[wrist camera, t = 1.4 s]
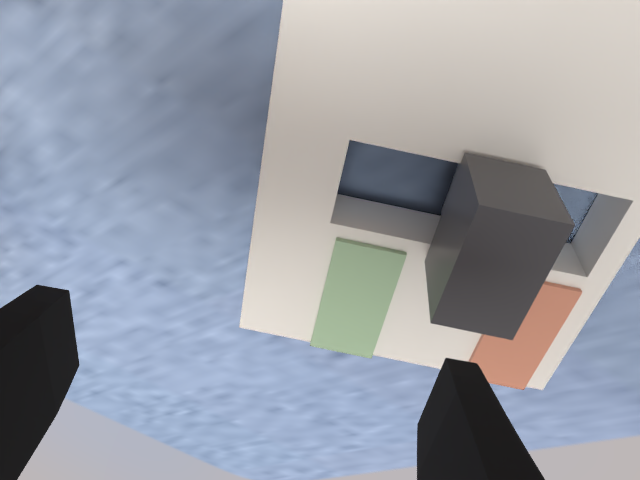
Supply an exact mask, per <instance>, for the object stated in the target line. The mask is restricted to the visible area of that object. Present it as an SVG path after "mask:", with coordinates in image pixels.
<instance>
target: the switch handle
mask: <svg viewBox="0 0 640 480" xmlns="http://www.w3.org/2000/svg"><path fill="white" fill-rule="evenodd" d="M441 212H442V215H441V218H440V221H439V223H438V226H437V229H436V231H435V234H434V237H433V240H432V242H431V245H430V248H429V250H428V253H427V256H426V258H425V271H426V281H427V292H428V302H429V313H430V323H432V324H436V325H441V326H446V327H451V328H456V329H460V330H465V331H470V332H475V333H480V334H484V335H489V336H494V337H499V338H504V339H508V340H513V339H514V337H515V335H516V333H517V331H518V330H519V328H520V326H521V324H522V322H523V320H524V319H525V317H526V315H527V313H528V311H529V309H530V307H531V306H532V304H533V302H534V300H535V298H536V296H537V295H538V293H539V291H540V289H541V287H542V285H543V284H544V282H545V280H546V278H547V276H548V274H549V272H550V271H551V269H552V267H553V265H554V263H555V261H556V260H557V258H558V256H559V254H560V252H561V250H562V249H563V247H564V245H565V243H566V241H567V239H568V237H569V236H570V234H571V232H572V230H573V228H574V226H575V224H574V222H573V220H572V218H571V217H570V215H569V213H568V211H567V209H566V207H565V205H564V203H563V201H562V200H561V198H560V196H559V194H558V192H557V190H556V188H555V186H554V185H553V183H552V181H551V179H550V177H549V175H548V173H547V171H546V170H545V169H540V168H535V167H531V166H526V165H521V164H517V163H512V162H507V161H503V160H498V159H493V158H489V157H484V156H479V155H475V154H470V153H464V155H463V158H462V161H461V164H460V163H458V166H457V168H456V171H455V174H454V177H453V179H452V182H451V185H450V188H449V190H448V193H447V196H446V199H445V201H444V204H443V207H442V209H441Z"/></svg>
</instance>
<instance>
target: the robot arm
mask: <svg viewBox="0 0 640 480" xmlns="http://www.w3.org/2000/svg"><path fill="white" fill-rule="evenodd" d="M78 367H79V359H78V352H77V345H76V338H75V330H74V323H73V316H72V308H71V301H70V294H69V290H63V289H58V288H52V287H47V286H41V285H36V286H34V287H33V288H31V289H29V290H28V291H26V292H25V293H23V294H22V295H20V296H19V297H17V298H16V299H14V300H13V301H11V302H10V303H8V304H6V305H5V306H3V307H2V308H0V480H17V479H18V477H19V476H20V474H21V472H22V471H23V469H24V468H25V466H26V464H27V462H28V461H29V459H30V458H31V456H32V455H33V453H34V451H35V450H36V448H37V446H38V445H39V443H40V441H41V440H42V438H43V436H44V435H45V433H46V432H47V430H48V428H49V426H50V425H51V423H52V422H53V420H54V418H55V417H56V415H57V413H58V411H59V409H60V406H61V404H62V402H63V400H64V398H65V396H66V394H67V392H68V390H69V387H70V385H71V383H72V380H73V378H74V376H75V374H76V371H77V369H78ZM417 480H545V479H544V477H543V476H542V474H541V472H540V471H539V469H538V467H537V466H536V464H535V463H534V461H533V459H532V458H531V456H530V454H529V453H528V451H527V450H526V448H525V446H524V445H523V443H522V441H521V439H520V438H519V436H518V434H517V433H516V431H515V429H514V427H513V426H512V424H511V422H510V420H509V419H508V417H507V415H506V413H505V412H504V410H503V408H502V406H501V404H500V403H499V401H498V399H497V397H496V395H495V394H494V392H493V390H492V388H491V386H490V384H489V383H488V381H487V379H486V377H485V375H484V374H483V372H482V370H481V368H480V367H479V365H478V364H477V363H473V362H468V361H462V360H456V359H451V358H445V360H444V363H443V365H442V368H441V370H440V372H439V375H438V377H437V379H436V382H435V384H434V387H433V389H432V391H431V394H430V396H429V399H428V401H427V403H426V406H425V408H424V410H423V413H422V415H421V418H420V420H419V422H418V431H417Z"/></svg>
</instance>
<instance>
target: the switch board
mask: <svg viewBox="0 0 640 480" xmlns="http://www.w3.org/2000/svg"><path fill="white" fill-rule="evenodd" d="M349 140H352V141H357V142H362V143H366V144H371V145H376V146H380V147H385V148H390V149H394V150H399V151H404V152H408V153H413V154H418V155H422V156H427V157H432V158H436V159H441V160H446V161H450V162H455V163H460V164H461V161H462V158H463V155H464V153H470V154H475V155H479V156H484V157H489V158H493V159H498V160H503V161H507V162H512V163H517V164H521V165H526V166H531V167H535V168H540V169H545V170H546V171H547V173H548V175H549V177H550V179H551V181H552V183H553V184H558V185H562V186H567V187H572V188H576V189H581V190H586V191H590V192H595V193H598V195H597V197H596V199H595V200H594V202H593V204H592V206H591V208H590V209H589V211H588V213H587V215H586V217H585V219H584V220H583V222H582V224H581V226H580V228H579V229H578V231H577V233H576V235H575V237H574V239H573V240H572V242H571V243H567V242H566V243H565V245H564V247H563V249H562V250H561V252H560V254H559V256H558V258H557V260H556V261H555V263H554V265H553V267H552V269H551V271H550V272H549V274H548V276H547V278H546V280H545V282H544V284H543V285H542V287H541V289H540V291H539V293H538V295H537V296H536V298H535V300H534V302H533V304H532V306H531V307H530V309H529V311H528V313H527V315H526V317H525V319H524V320H523V322H522V324H521V326H520V328H519V330H518V331H517V333H516V335H515V337H514V339H513V340H508V339H504V338H499V337H494V336H489V335H484V334H480V333H475V332H470V331H465V330H460V329H456V328H451V327H446V326H441V325H436V324H432V323H430V313H429V302H428V292H427V281H426V271H425V258H426V256H427V253H428V250H429V248H430V245H431V242H432V240H433V237H434V234H435V231H436V229H437V226H438V223H439V221H440V218H441V216H439V215H435V214H430V213H425V212H421V211H416V210H411V209H406V208H402V207H397V206H392V205H388V204H383V203H378V202H373V201H369V200H364V199H359V198H355V197H350V196H345V195H340V194H337V192H338V188H339V183H340V179H341V175H342V170H343V166H344V162H345V157H346V153H347V149H348V145H349ZM639 238H640V0H283V7H282V14H281V22H280V29H279V36H278V44H277V51H276V59H275V66H274V73H273V81H272V88H271V96H270V103H269V111H268V118H267V125H266V133H265V140H264V148H263V155H262V162H261V170H260V177H259V185H258V192H257V200H256V207H255V214H254V222H253V229H252V237H251V244H250V251H249V259H248V266H247V274H246V281H245V289H244V296H243V303H242V311H241V318H240V326H239V327H240V328H245V329H250V330H254V331H259V332H264V333H269V334H274V335H279V336H283V337H288V338H293V339H298V340H303V341H308V342H311V343H310V346H313V347H318V348H323V349H328V350H332V351H337V352H342V353H347V354H352V355H357V356H361V357H366V358H372V355H375V356H380V357H385V358H390V359H395V360H399V361H404V362H409V363H414V364H419V365H424V366H428V367H433V368H438V369H441V368H442V365H443V363H444V360H445V358H451V359H456V360H462V361H468V362H473V363H477V364H478V365H479V367H480V368H481V370H482V372H483V374H484V375H485V377H486V379H487V381H488V383H492V384H497V385H502V386H507V387H511V388H516V389H521V390H524V389H525V387H530V388H535V389H540V390H543V389H544V387H545V386H546V384H547V383H548V381H549V379H550V378H551V376H552V375H553V373H554V371H555V370H556V368H557V367H558V365H559V364H560V362H561V360H562V359H563V357H564V356H565V354H566V353H567V351H568V349H569V348H570V346H571V345H572V343H573V342H574V340H575V338H576V337H577V335H578V334H579V332H580V331H581V329H582V327H583V326H584V324H585V323H586V321H587V319H588V318H589V316H590V315H591V313H592V312H593V310H594V308H595V307H596V305H597V304H598V302H599V301H600V299H601V297H602V296H603V294H604V293H605V291H606V290H607V288H608V286H609V285H610V283H611V282H612V280H613V278H614V277H615V275H616V274H617V272H618V271H619V269H620V267H621V266H622V264H623V263H624V261H625V260H626V258H627V256H628V255H629V253H630V252H631V250H632V249H633V247H634V245H635V244H636V242H637V241H638V239H639Z"/></svg>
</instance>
